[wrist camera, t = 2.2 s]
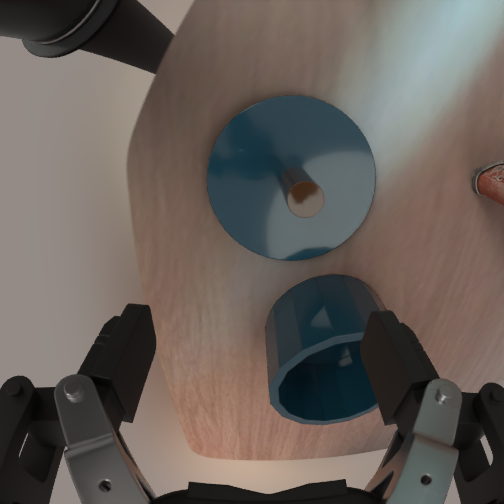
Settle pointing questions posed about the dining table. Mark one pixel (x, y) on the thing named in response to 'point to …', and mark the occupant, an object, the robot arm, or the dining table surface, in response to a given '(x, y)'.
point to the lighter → (490, 181)
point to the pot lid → (291, 177)
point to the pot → (320, 350)
